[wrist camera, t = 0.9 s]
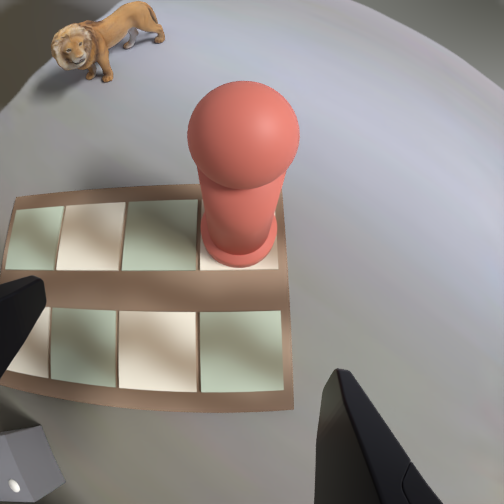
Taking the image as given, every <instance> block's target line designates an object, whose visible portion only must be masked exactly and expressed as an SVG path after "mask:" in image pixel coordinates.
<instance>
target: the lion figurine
mask: <svg viewBox="0 0 504 504" xmlns="http://www.w3.org/2000/svg"><path fill="white" fill-rule="evenodd" d="M136 28H137V29H140V30H143V31H145V32H154V33H157V34H158V36H157V37H156V38H155V39H154V40H155V43H162V42H163V41H164V40H165V35H164V32H163V28H162V26H161V25H160V24H158V22H157V18H156V15H155V13H154V11H153V9H152V8H151V7H150V6H149V5H148V4H147V3H145V2H141V1H135V2H131V3H127V4H124V5H122V6H121V7H120V8H118V9H117V10H116V11H115V12H114V13H112V14H111V15H110V16H108V17H107V18H105V19H104V20H102V21H98V22H94V21H89V20H88V21H84V22H81V23H78V24H77V23H73V24H70V25H68V26H65V27H63V29H60V30H59V31H58V33H56V34H55V36H54V38H53V41H52V43H51V51H52V56H53V57H54V58H55V59H56V61H57V63H58V65H59V66H60V67H62V68H63V69H64V70H72V69H76V68H78V69H81V70H84V69H86V68H87V69H88V70H89V72H88V73H87V75H86V79H87V80H91V79H93V78H94V77H95V76H96V66H95V64H94V63H95V62H98V63H99V65H100V66H101V68H102V70H103V74H104V76H103V78H102V80H103V81H104V82H109V81H112V79H113V72H112V69H111V67H110V64H109V51H108V49H110V48H111V47H113V46H115V45H116V44H117V43H119V42H120V41H121V40H122V39H123V38H124V37H125V36H126V34H127V32H128V33H129V34H130V39H129V41H128V42H126V43H125V44H124V45H123V48H125V49H128V48H131V47H132V46H133V45H134V42H135V40H136V38H137V36H138V31H137V29H136Z"/></svg>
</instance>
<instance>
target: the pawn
mask: <svg viewBox="0 0 504 504" xmlns="http://www.w3.org/2000/svg"><path fill="white" fill-rule="evenodd" d="M187 138H188V146H189V150H190V153H191V156H192V158H193V160H194V162H195V163H196V165H197V169H198V175H199V181H200V187H201V192H202V198H203V204H204V209H205V212H204V214H203V216H202V220H201V235H202V239H203V243H204V246H205V248H206V250H207V252H208V253H209V254H210V255H211V257H212V258H213V259H215V260H216V261H217V262H219V263H221V264H223V265H225V266H228V267H233V268H245V267H250V266H252V265H255V264H257V263H259V262H260V261H262V260H263V259H264V258H265V257H266V256H267V255H268V254H269V252H270V251H271V249H272V247H273V244H274V241H275V238H276V234H277V221H276V217H275V215H274V213H275V210H276V206H277V203H278V199H279V195H280V192H281V188H282V185H283V181H284V177H285V174H286V170H287V169H288V167H289V166H290V164H291V163H292V161H293V159H294V157H295V155H296V153H297V149H298V145H299V138H300V136H299V125H298V121H297V117H296V115H295V113H294V111H293V109H292V107H291V105H290V104H289V103H288V102H287V100H286V99H285V98H284V97H283V96H282V95H281V94H280V93H278V92H277V91H275V90H274V89H272V88H270V87H269V86H266V85H264V84H261V83H257V82H251V81H236V82H230V83H227V84H224V85H221V86H219V87H217V88H215V89H214V90H212V91H210V92H209V93H208V94H207V95H206V96H205V97H203V98H202V99H201V100H200V102H199V103H198V104H197V106H196V107H195V109H194V111H193V113H192V115H191V118H190V121H189V125H188V131H187Z"/></svg>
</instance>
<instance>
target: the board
mask: <svg viewBox="0 0 504 504" xmlns="http://www.w3.org/2000/svg"><path fill="white" fill-rule="evenodd" d="M204 212H205V209H204V204H203V198H202V192H201V187H200V184H182V185H156V186H137V187H120V188H105V189H92V190H80V191H69V192H58V193H48V194H39V195H30V196H22V197H16V200H15V204H14V208H13V212H12V216H11V220H10V225H9V229H8V234H7V239H6V245H5V250H4V256H3V262H2V268H1V275H0V284H3V283H6V282H10V281H13V280H16V279H20V278H23V277H27V276H30V275H34V276H37V277H39V278H41V279H42V280H43V281H44V286H45V292H46V298H47V303H46V306H45V308H44V310H43V312H42V313H41V315H40V317H39V318H38V320H37V322H36V324H35V325H34V327H33V329H32V331H31V332H30V334H29V336H28V338H27V339H26V341H25V343H24V344H23V346H22V347H21V349H20V350H19V352H18V353H17V354H16V356H15V357H14V359H13V360H12V362H11V363H10V365H9V366H8V368H7V370H6V371H5V373H4V374H3V376H2V377H1V379H0V385H2V386H6V387H10V388H14V389H18V390H22V391H26V392H30V393H35V394H39V395H44V396H49V397H54V398H59V399H65V400H70V401H76V402H83V403H89V404H96V405H104V406H112V407H121V408H130V409H141V410H154V411H171V412H200V413H234V412H263V411H280V410H293V409H294V397H293V367H292V343H291V321H290V302H289V284H288V267H287V252H286V237H285V223H284V210H283V197H282V188H281V192H280V195H279V199H278V203H277V206H276V210H275V213H274V215H275V217H276V221H277V234H276V238H275V241H274V244H273V247H272V249H271V251H270V252H269V254H268V255H267V256H266V257H265V258H264V259H263V260H262V261H260V262H259V263H257V264H255V265H252V266H250V267H245V268H233V267H228V266H225V265H223V264H221V263H219V262H217V261H216V260H215V259H213V258H212V257H211V255H210V254H209V253H208V252H207V250H206V248H205V246H204V243H203V239H202V235H201V220H202V216H203V214H204Z"/></svg>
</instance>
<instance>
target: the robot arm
mask: <svg viewBox="0 0 504 504" xmlns="http://www.w3.org/2000/svg"><path fill="white" fill-rule="evenodd" d="M46 303H47V298H46V292H45V286H44V281H43V280H42V279H41V278H39V277H37V276H34V275H30V276H27V277H23V278H20V279H16V280H13V281H10V282H6V283H3V284H0V379H1V377H2V376H3V374H4V373H5V371H6V370H7V368H8V366H9V365H10V363H11V362H12V360H13V359H14V357H15V356H16V354H17V353H18V352H19V350H20V349H21V347H22V346H23V344H24V343H25V341H26V339H27V338H28V336H29V334H30V332H31V331H32V329H33V327H34V325H35V324H36V322H37V320H38V318H39V317H40V315H41V313H42V312H43V310H44V308H45V306H46ZM410 461H411V460H410V458H409V457H408V455H407V454H406V452H405V451H404V449H403V448H402V446H401V445H400V443H399V442H398V441H397V439H396V438H395V436H394V435H393V433H392V432H391V430H390V429H389V427H388V426H387V424H386V423H385V421H384V420H383V418H382V417H381V415H380V414H379V413H378V411H377V410H376V408H375V407H374V405H373V404H372V402H371V401H370V399H369V398H368V396H367V395H366V394H365V392H364V391H363V389H362V388H361V386H360V385H359V383H358V382H357V380H356V379H355V378H354V376H353V375H352V373H351V372H350V371H348V370H344V369H339V368H337V369H335V370H334V371H333V373H332V374H331V376H330V378H329V380H328V381H327V383H326V385H325V387H324V389H323V393H322V400H321V408H320V416H319V424H318V431H317V439H316V470H315V496H314V504H443V503H442V502H441V500H440V499H439V498H438V497H437V496H436V494H435V493H434V492H433V491H432V489H431V488H430V487H429V486H428V484H427V483H426V481H425V480H424V479H423V477H422V476H421V474H420V473H419V472H418V470H417V469H416V467H415V466H414V464H413V463H412V462H410Z"/></svg>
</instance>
